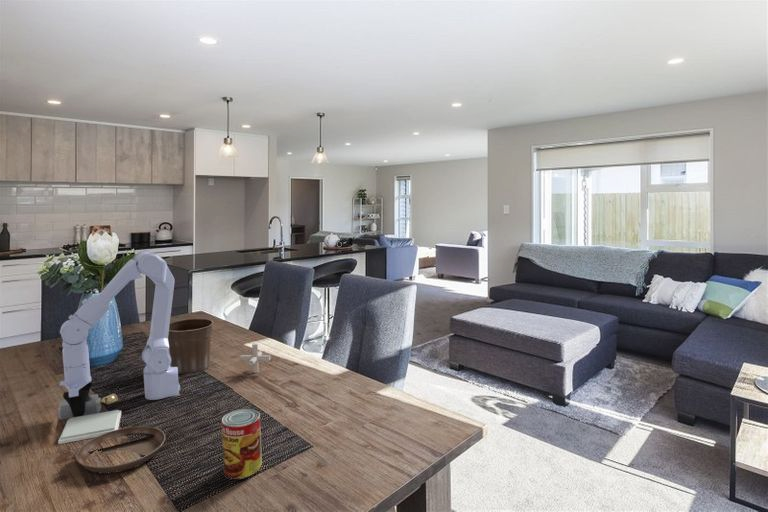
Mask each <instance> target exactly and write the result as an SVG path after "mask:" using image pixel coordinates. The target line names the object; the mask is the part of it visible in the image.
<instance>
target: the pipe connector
mask: <svg viewBox="0 0 768 512" xmlns="http://www.w3.org/2000/svg"><path fill="white" fill-rule="evenodd" d="M251 345H252V347H251V348H252V349H251V350H252V351H251V352H252V354H251V355H250V354H249V355H248V354H245V355H243V354H241V355H240V356H239V358H240V359H239V360H240V362H243V361H245V362H246V361H248V362H247V364H248V366H250V367H251V366H252V372H253V373H254V374H258V373H260V372H259V371H260V370H259V369H260V368H259V367H260V366H259V361H265V362H267V361H271V355H269V354H268V355H267V354H265V355H264V354H263V351H261V350H259V347H258V346H259V344H258V343H257V342H255V343H252V344H251Z"/></svg>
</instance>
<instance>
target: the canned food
mask: <svg viewBox="0 0 768 512" xmlns="http://www.w3.org/2000/svg"><path fill="white" fill-rule="evenodd" d="M261 432H262V431H261V413H260V412H259V411H258V410H255V409H252V408H240V409H235V410H232V411H229V412H228V413H226V414H225V415H223V417H222V418H221V434H222V435H221V438H222V456H223V474H224V473H225V475H226V476H229V477H232V478H243V477H247V476H250V475H252V474H254V473H255V472H257V471H258V470H259V469H260V467H261V465H262V466H263V462H262V460H263V459H262V436H261V434H262V433H261ZM225 475H224V476H225ZM226 476H225V477H226Z"/></svg>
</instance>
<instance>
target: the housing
mask: <svg viewBox="0 0 768 512" xmlns="http://www.w3.org/2000/svg"><path fill="white" fill-rule="evenodd" d="M101 400H102V398H101V397H99V394H98V393H95V394H89V396H87V397H86V402H85V411H84V415H83V416H85V415H91V414H97V413H101V410H102V403H101ZM57 414H58V420H69V419H70V418H74V416H73V414H72V411H71V408H70V406H69V404H68V402H67V401H66V400H65V399H64V398H63V400H62V401H61V402H60V404H59V407H58V409H57Z"/></svg>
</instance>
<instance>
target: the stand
mask: <svg viewBox="0 0 768 512" xmlns="http://www.w3.org/2000/svg"><path fill="white" fill-rule="evenodd" d="M121 417H122V410H119V409H115V410H110V411H103V412H99V413H97V414H91V415H85V416H80V417H74V418H68V419H67V420H66V424H65V426H64V428H63V430H62V432H61V434H60V436H59V438H58V441H57V442H58V445H61V444H67V443H72V442H78V441H83V440H88V439H94V438H96V437H98V436H100V435H103V434H105V433H108V432H111V431H115V430H118V429H119V425H120V422H121Z"/></svg>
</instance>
